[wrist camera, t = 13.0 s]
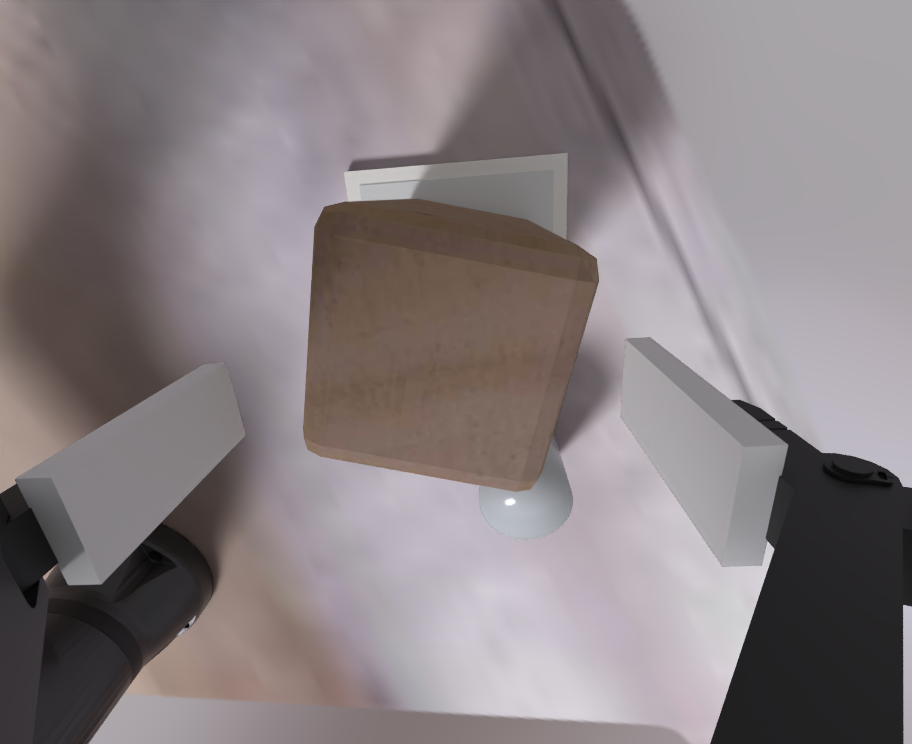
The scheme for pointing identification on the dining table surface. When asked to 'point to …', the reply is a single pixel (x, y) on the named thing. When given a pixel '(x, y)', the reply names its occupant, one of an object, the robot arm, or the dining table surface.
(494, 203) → the shallow square tray
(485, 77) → the dining table surface
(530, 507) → the pale grey egg
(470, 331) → the wooden block
